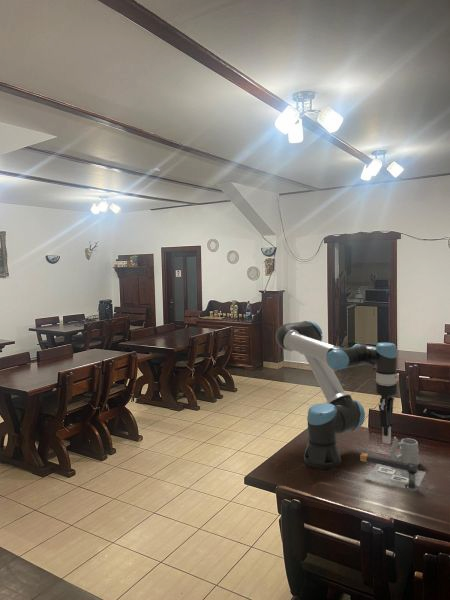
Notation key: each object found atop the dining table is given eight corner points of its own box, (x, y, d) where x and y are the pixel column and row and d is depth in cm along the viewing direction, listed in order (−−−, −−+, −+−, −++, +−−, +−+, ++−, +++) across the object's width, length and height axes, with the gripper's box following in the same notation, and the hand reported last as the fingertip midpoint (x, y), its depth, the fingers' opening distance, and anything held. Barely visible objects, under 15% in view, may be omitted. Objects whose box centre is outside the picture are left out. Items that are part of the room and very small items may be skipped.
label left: (377, 471, 177) (377, 470, 177) (380, 467, 181) (380, 466, 180) (393, 475, 174) (393, 474, 174) (395, 471, 177) (395, 469, 177)
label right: (390, 480, 170) (390, 478, 170) (393, 475, 173) (393, 474, 173) (407, 484, 167) (407, 482, 167) (409, 479, 170) (409, 478, 170)
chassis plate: (366, 480, 172) (366, 478, 172) (378, 463, 186) (378, 461, 186) (416, 493, 162) (416, 491, 162) (425, 474, 176) (425, 472, 176)
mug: (423, 468, 181) (423, 439, 180) (394, 470, 180) (394, 441, 179) (413, 460, 188) (413, 431, 187) (386, 461, 187) (386, 433, 186)
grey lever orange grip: (418, 470, 164) (418, 464, 164) (416, 474, 161) (416, 468, 161) (363, 457, 176) (362, 452, 176) (359, 461, 173) (359, 455, 173)
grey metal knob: (403, 490, 164) (403, 473, 163) (406, 484, 168) (406, 467, 167) (417, 494, 161) (417, 476, 161) (420, 488, 165) (420, 470, 165)
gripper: (392, 388, 167) (392, 450, 169) (400, 380, 177) (400, 438, 179) (371, 386, 171) (371, 446, 173) (381, 378, 182) (381, 435, 184)
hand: (386, 442), depth 176 cm, fingers closed
